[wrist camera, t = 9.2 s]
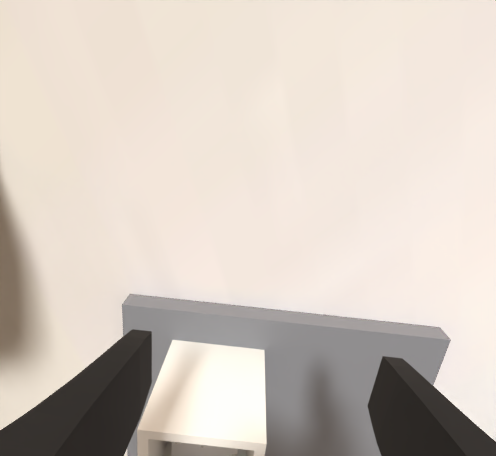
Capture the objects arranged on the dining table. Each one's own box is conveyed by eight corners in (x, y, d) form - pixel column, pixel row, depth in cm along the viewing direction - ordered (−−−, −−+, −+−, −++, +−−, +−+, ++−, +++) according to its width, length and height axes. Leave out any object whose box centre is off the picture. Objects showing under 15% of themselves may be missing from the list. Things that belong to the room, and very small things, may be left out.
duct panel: (439, 327, 20) (450, 339, 19) (379, 491, 25) (385, 509, 24) (130, 293, 20) (122, 304, 19) (134, 465, 25) (128, 481, 24)
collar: (264, 349, 19) (266, 443, 14) (253, 417, 21) (252, 525, 16) (172, 339, 19) (136, 429, 14) (170, 408, 21) (138, 512, 16)
